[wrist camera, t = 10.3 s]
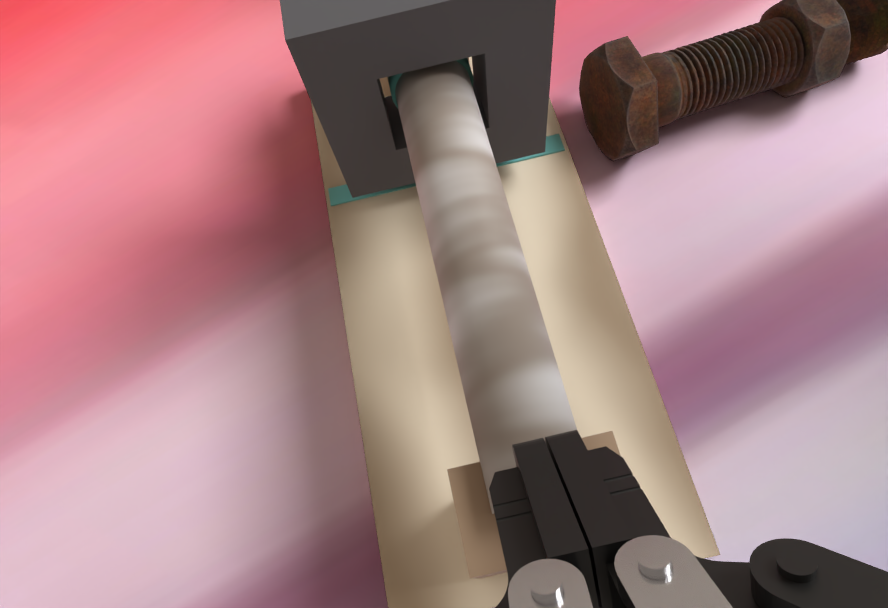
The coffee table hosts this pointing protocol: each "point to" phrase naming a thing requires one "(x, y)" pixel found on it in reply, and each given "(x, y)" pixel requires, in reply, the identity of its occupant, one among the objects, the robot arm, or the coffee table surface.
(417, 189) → the pipe stand
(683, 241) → the coffee table surface
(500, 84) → the dark grey slider block
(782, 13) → the bolt
